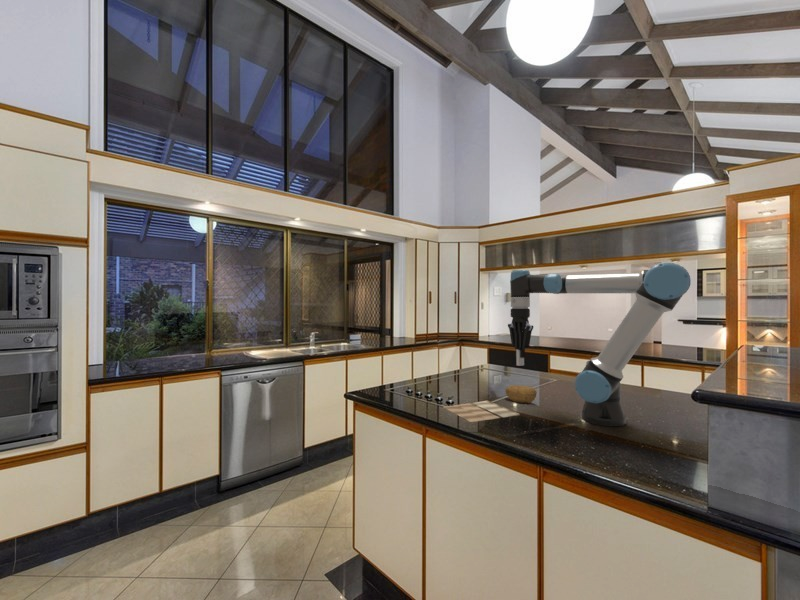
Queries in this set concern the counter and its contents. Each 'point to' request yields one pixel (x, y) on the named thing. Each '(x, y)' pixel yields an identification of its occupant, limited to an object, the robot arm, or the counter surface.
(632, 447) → the counter surface
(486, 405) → the board
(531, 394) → the potato
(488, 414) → the laid boards
